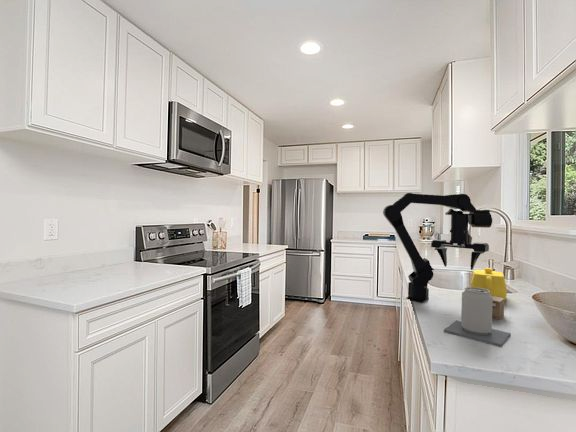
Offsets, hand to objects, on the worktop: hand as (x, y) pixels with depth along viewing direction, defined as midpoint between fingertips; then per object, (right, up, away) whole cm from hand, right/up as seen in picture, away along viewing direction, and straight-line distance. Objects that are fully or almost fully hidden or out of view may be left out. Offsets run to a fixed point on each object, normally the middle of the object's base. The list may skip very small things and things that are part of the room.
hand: (458, 268), depth 122 cm
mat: (-11, -14, -31) cm, 36 cm away
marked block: (+3, -14, -15) cm, 21 cm away
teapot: (+17, -13, +9) cm, 23 cm away
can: (-11, -13, -31) cm, 35 cm away
